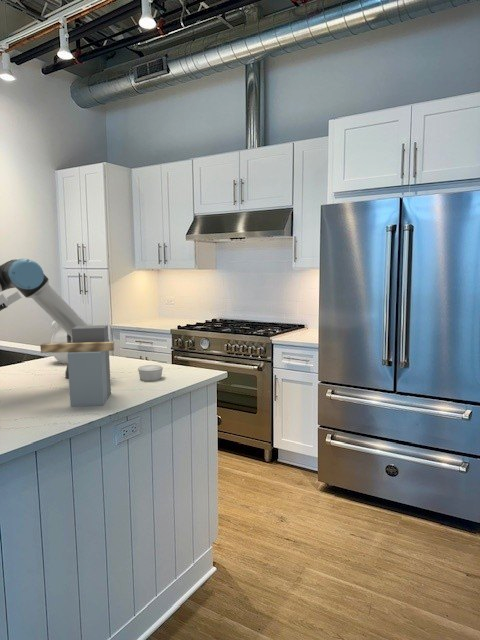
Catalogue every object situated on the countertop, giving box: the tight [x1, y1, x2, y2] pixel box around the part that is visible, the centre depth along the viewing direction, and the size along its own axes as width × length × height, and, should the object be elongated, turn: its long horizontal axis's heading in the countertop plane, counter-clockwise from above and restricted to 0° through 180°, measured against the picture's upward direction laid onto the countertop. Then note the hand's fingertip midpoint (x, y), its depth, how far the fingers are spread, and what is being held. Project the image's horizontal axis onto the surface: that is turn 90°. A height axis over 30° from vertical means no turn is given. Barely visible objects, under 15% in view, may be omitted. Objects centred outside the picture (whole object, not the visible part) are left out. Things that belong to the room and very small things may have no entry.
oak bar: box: [39, 341, 115, 354], centre depth 173 cm, size 26×3×3 cm, turn 96°
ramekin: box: [137, 364, 164, 382], centre depth 211 cm, size 11×11×5 cm
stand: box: [67, 324, 112, 407], centre depth 178 cm, size 12×16×28 cm
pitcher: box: [50, 314, 82, 365], centre depth 248 cm, size 19×18×25 cm
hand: (12, 295), depth 168 cm, fingers open, 13 cm apart
